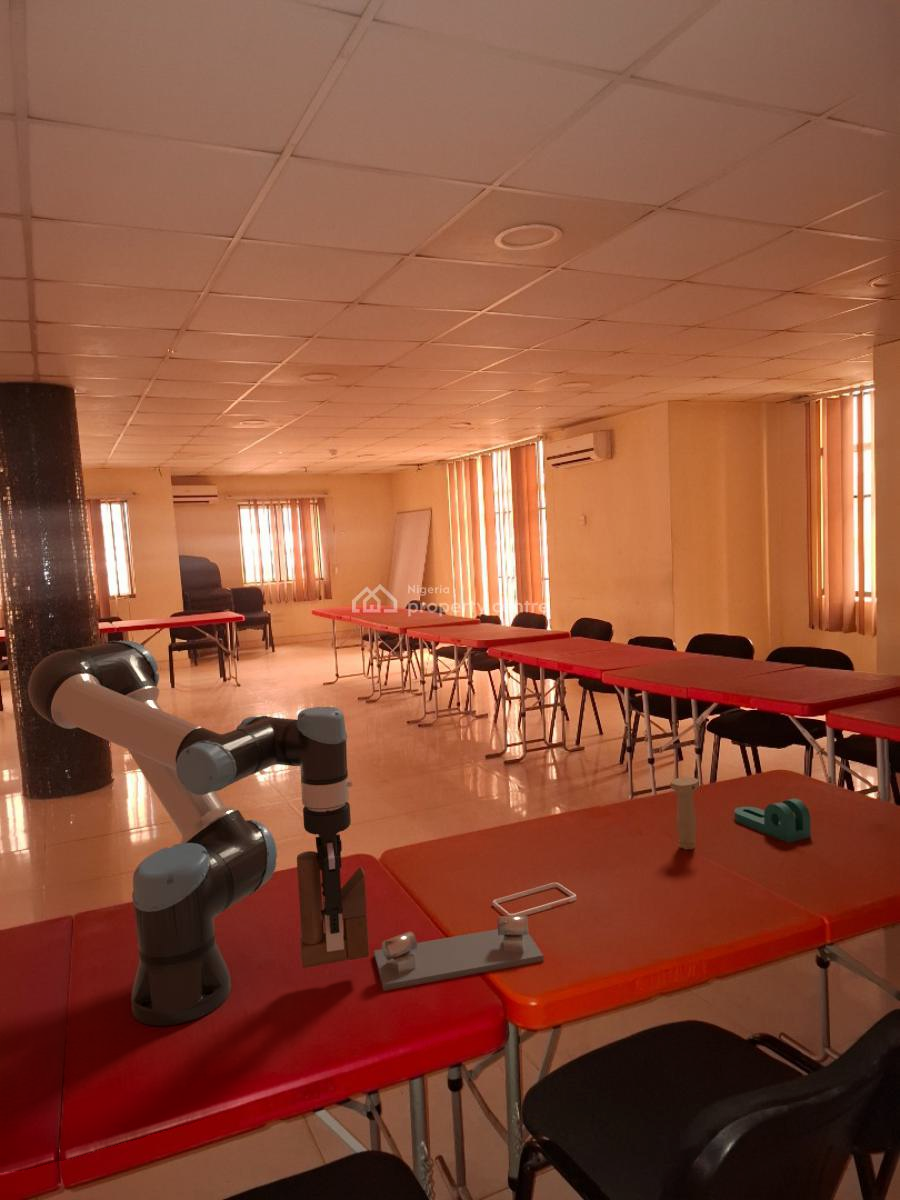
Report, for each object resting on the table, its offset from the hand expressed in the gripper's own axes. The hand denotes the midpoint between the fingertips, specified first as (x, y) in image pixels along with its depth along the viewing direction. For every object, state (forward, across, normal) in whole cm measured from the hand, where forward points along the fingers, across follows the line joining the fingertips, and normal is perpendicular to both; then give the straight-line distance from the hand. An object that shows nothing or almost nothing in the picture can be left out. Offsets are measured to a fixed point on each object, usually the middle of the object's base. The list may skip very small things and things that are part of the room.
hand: (334, 942), depth 129 cm
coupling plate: (+6, 0, -20) cm, 21 cm away
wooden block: (+3, 0, 0) cm, 3 cm away
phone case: (+7, +15, -40) cm, 43 cm away
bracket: (+6, +32, -102) cm, 107 cm away
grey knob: (+6, -1, -30) cm, 31 cm away
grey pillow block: (+6, -1, -11) cm, 12 cm away
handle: (+6, +28, -80) cm, 84 cm away
